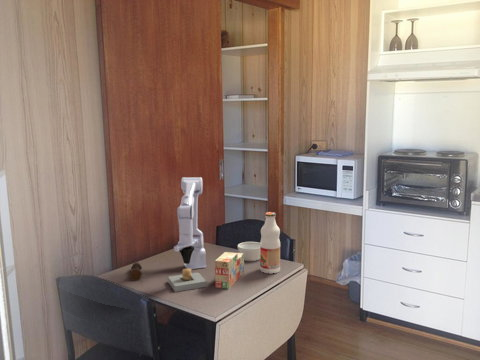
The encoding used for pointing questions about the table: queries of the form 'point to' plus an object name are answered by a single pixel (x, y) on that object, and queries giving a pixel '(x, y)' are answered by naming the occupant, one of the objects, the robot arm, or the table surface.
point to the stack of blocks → (228, 269)
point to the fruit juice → (270, 245)
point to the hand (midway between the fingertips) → (186, 263)
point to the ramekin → (250, 250)
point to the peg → (186, 275)
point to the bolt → (136, 271)
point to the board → (187, 282)
